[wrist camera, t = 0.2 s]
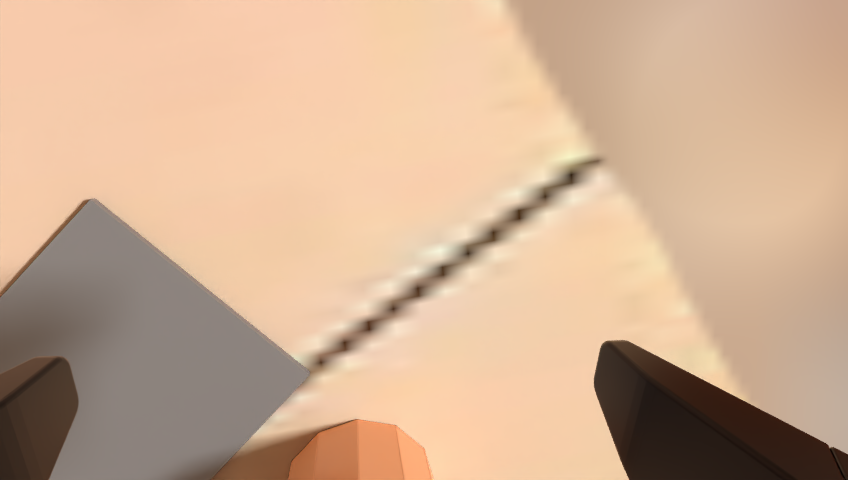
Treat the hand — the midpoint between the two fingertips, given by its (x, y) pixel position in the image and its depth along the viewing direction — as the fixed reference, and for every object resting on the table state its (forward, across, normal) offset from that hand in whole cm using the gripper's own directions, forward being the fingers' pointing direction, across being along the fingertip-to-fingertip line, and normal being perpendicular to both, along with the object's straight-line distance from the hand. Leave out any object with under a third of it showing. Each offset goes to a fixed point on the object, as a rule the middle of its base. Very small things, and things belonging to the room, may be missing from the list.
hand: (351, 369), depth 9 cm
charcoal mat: (+13, +11, +11) cm, 20 cm away
